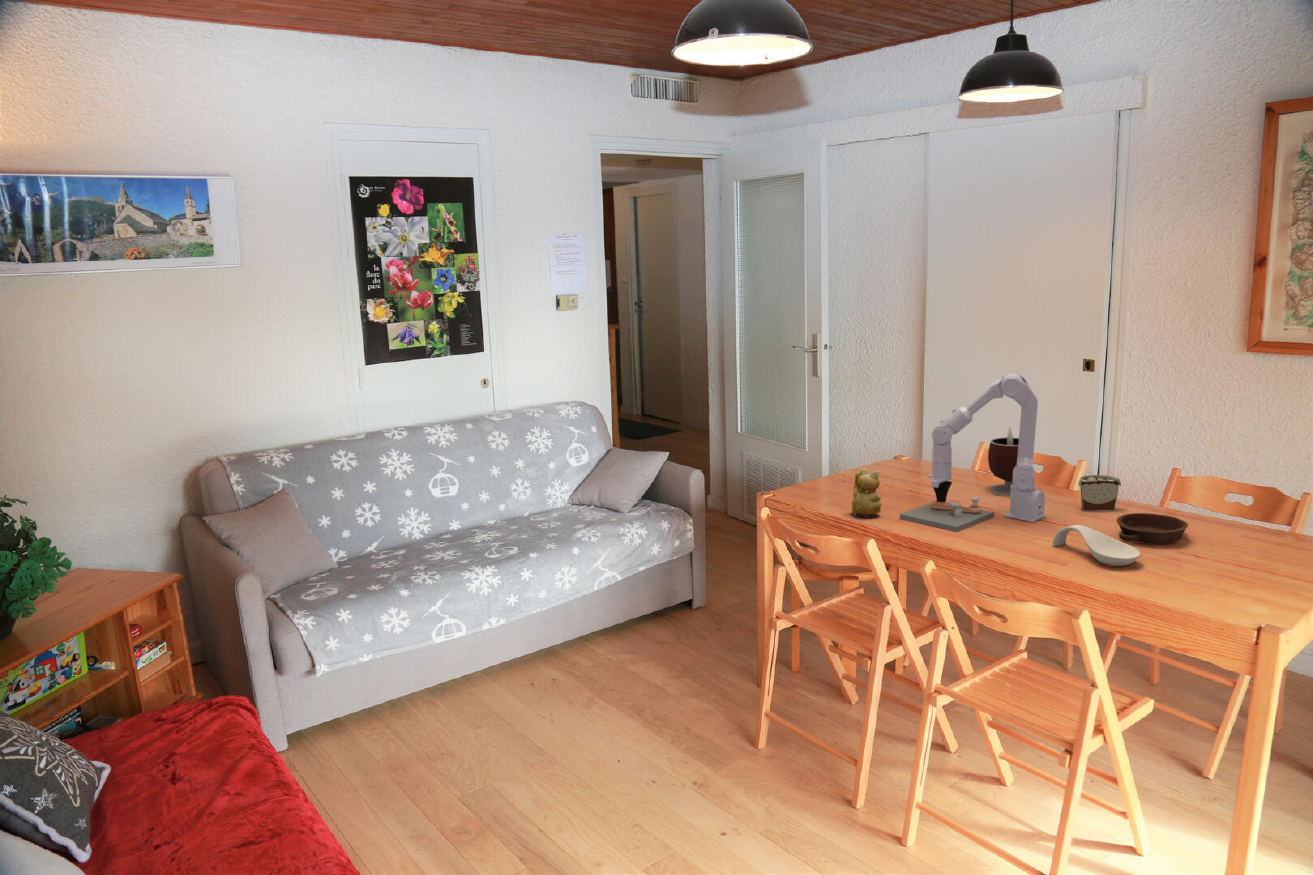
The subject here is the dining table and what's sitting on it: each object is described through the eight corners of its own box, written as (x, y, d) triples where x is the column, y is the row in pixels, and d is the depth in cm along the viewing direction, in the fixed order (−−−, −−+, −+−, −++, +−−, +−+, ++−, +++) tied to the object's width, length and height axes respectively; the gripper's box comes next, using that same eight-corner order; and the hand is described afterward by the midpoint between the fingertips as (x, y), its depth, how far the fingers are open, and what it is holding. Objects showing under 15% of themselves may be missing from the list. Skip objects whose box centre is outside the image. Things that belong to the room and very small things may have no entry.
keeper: (953, 512, 288) (953, 501, 287) (961, 517, 283) (961, 505, 282) (947, 513, 288) (947, 502, 287) (955, 517, 283) (955, 506, 282)
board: (993, 516, 287) (993, 512, 286) (957, 531, 274) (957, 526, 274) (936, 505, 302) (937, 500, 302) (899, 518, 289) (899, 514, 289)
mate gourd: (1032, 497, 305) (1034, 437, 301) (987, 495, 310) (989, 436, 305) (1029, 485, 320) (1031, 428, 316) (986, 484, 324) (988, 427, 320)
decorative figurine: (885, 514, 294) (885, 468, 291) (873, 521, 288) (873, 473, 285) (857, 510, 301) (857, 464, 297) (845, 516, 294) (845, 470, 291)
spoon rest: (1149, 565, 241) (1151, 538, 240) (1119, 574, 236) (1120, 547, 235) (1071, 541, 262) (1072, 517, 260) (1042, 549, 257) (1042, 524, 255)
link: (982, 510, 287) (982, 497, 287) (979, 513, 285) (979, 500, 284) (932, 505, 296) (932, 492, 295) (929, 508, 293) (929, 494, 292)
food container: (1112, 505, 293) (1113, 474, 291) (1119, 510, 287) (1121, 479, 285) (1071, 505, 294) (1072, 475, 292) (1077, 511, 288) (1079, 479, 286)
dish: (1095, 535, 266) (1096, 519, 265) (1153, 524, 273) (1154, 508, 272) (1147, 553, 250) (1148, 535, 249) (1207, 540, 257) (1208, 523, 256)
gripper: (935, 456, 299) (935, 497, 302) (921, 466, 288) (921, 508, 290) (958, 457, 296) (957, 499, 298) (944, 468, 284) (944, 511, 287)
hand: (941, 504), depth 294 cm, fingers closed, pressing on link
